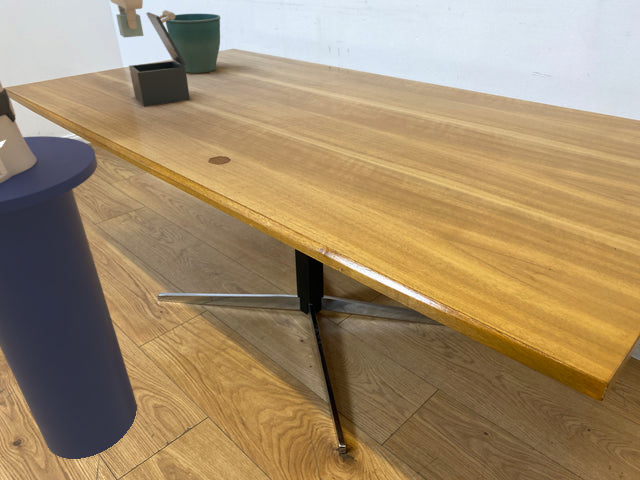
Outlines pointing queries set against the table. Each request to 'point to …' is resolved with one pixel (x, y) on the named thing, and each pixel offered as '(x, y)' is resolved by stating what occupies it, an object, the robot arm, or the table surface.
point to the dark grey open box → (159, 83)
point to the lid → (166, 34)
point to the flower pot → (196, 40)
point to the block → (124, 28)
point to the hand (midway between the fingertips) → (130, 27)
